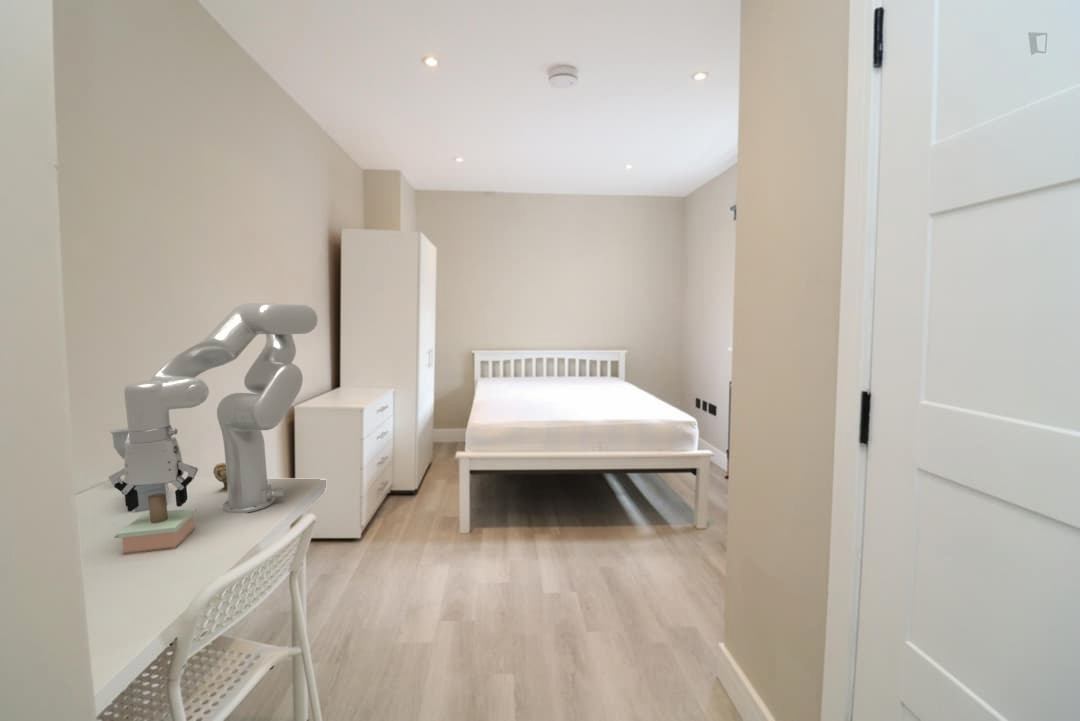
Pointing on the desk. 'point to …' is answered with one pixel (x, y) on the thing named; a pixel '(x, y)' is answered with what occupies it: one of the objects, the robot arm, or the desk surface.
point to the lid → (157, 519)
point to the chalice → (120, 441)
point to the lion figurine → (221, 473)
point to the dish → (158, 540)
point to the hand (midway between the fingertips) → (157, 506)
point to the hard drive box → (147, 491)
